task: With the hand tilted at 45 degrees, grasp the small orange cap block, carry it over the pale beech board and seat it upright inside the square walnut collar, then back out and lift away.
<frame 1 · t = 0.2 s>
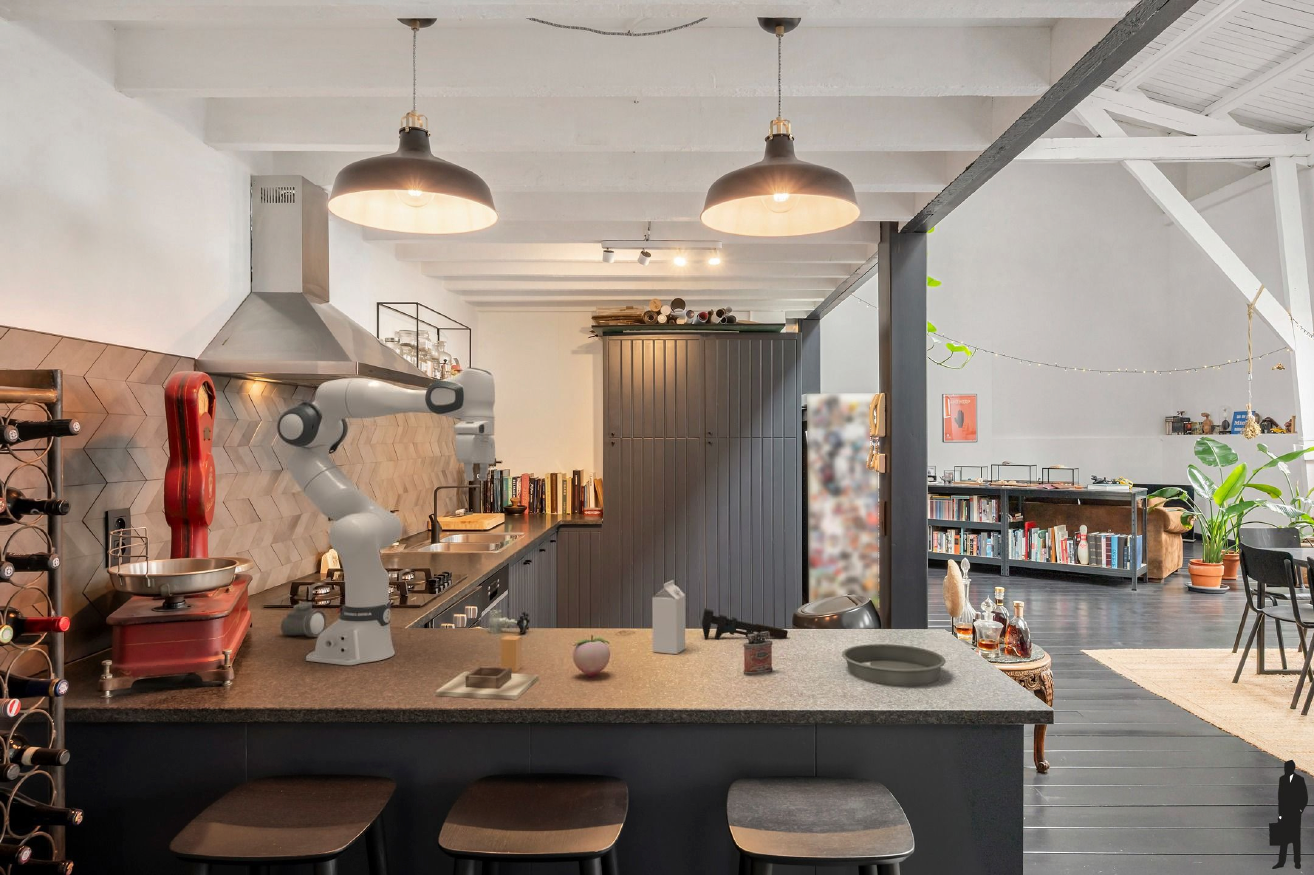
hand: (476, 480, 203), 48 cm above the countertop, fingers open, 8 cm apart
decorative fruit: (592, 677, 187), on the countertop
orange cap block: (511, 669, 194), on the countertop
valve: (507, 633, 234), on the countertop
socket board: (488, 687, 179), on the countertop
pipe fitting: (302, 636, 231), on the countertop
lighter: (758, 673, 190), on the countertop
milk carton: (669, 651, 212), on the countertop
cake pan: (892, 674, 189), on the countertop
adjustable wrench: (744, 640, 225), on the countertop
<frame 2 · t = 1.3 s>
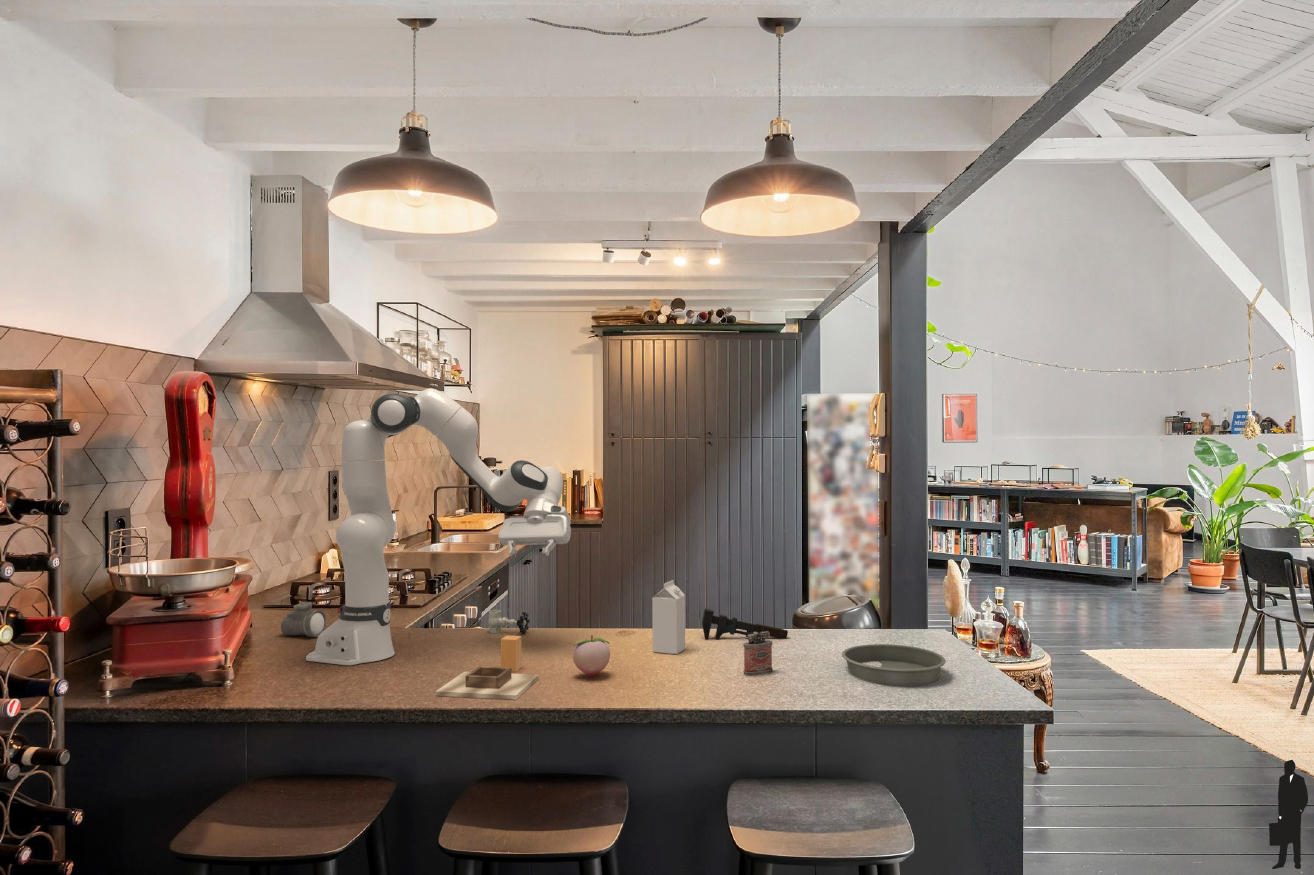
hand: (528, 555, 208), 27 cm above the countertop, fingers open, 8 cm apart
nothing on the countertop moved.
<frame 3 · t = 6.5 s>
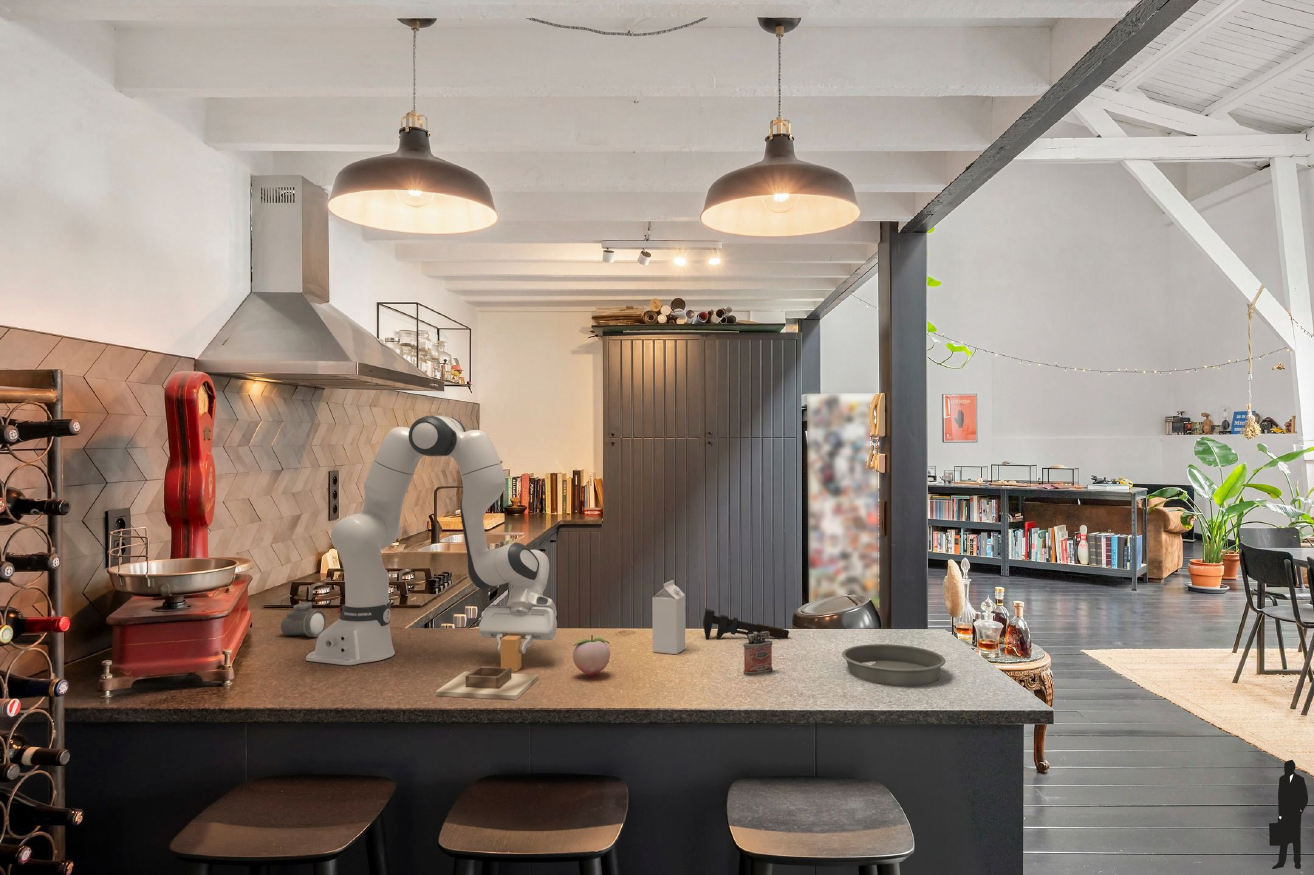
hand: (511, 651, 194), 4 cm above the countertop, fingers closed on orange cap block, 4 cm apart
orange cap block: (511, 669, 194), on the countertop, touching gripper
everything else where it was.
when the fingers open (7 cm above the countertop, at t = 12.1 s): orange cap block drops 1 cm, resting on socket board.
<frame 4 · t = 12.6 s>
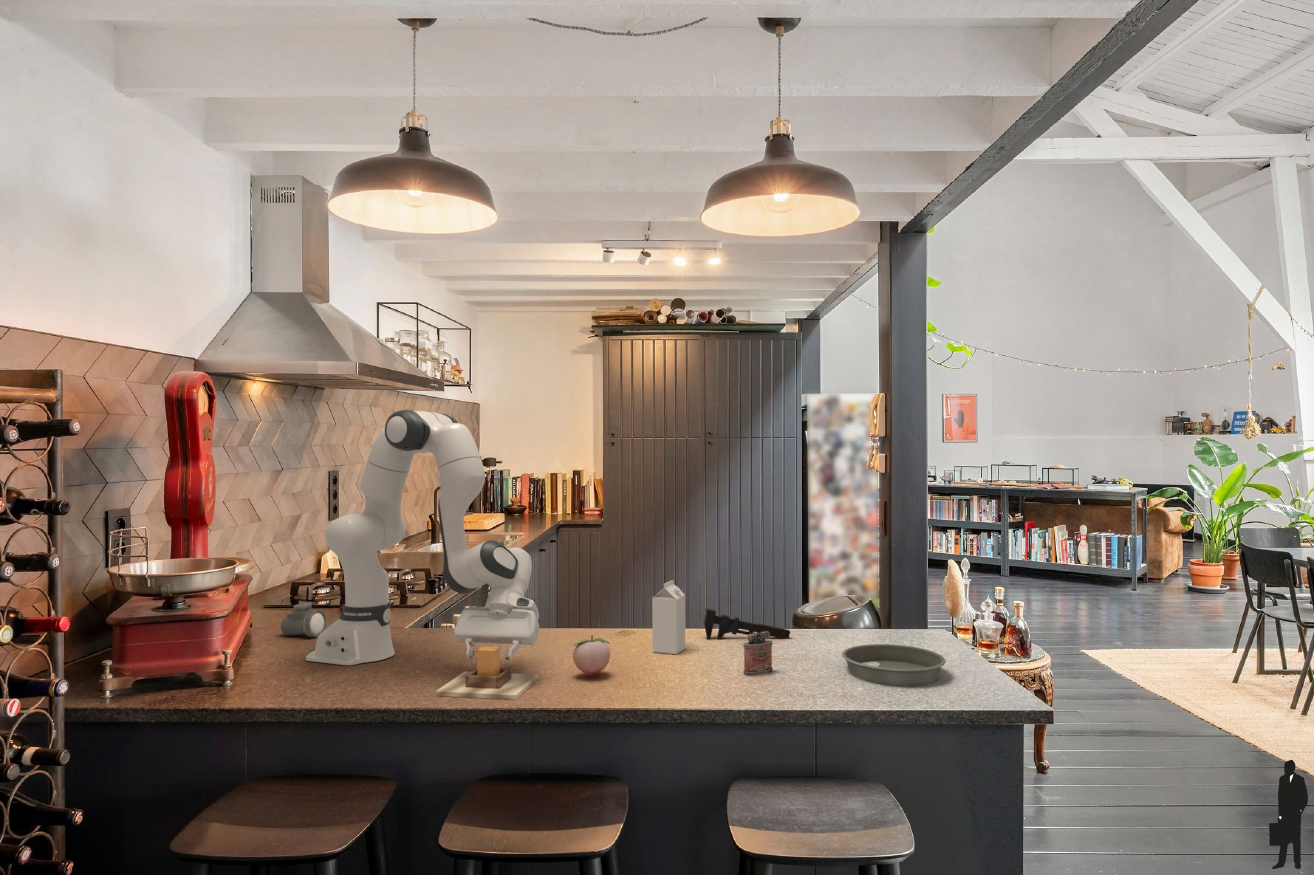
hand: (488, 657, 179), 7 cm above the countertop, fingers open, 8 cm apart
orange cap block: (488, 682, 179), point 1 cm above the countertop, touching socket board
everything else where it was.
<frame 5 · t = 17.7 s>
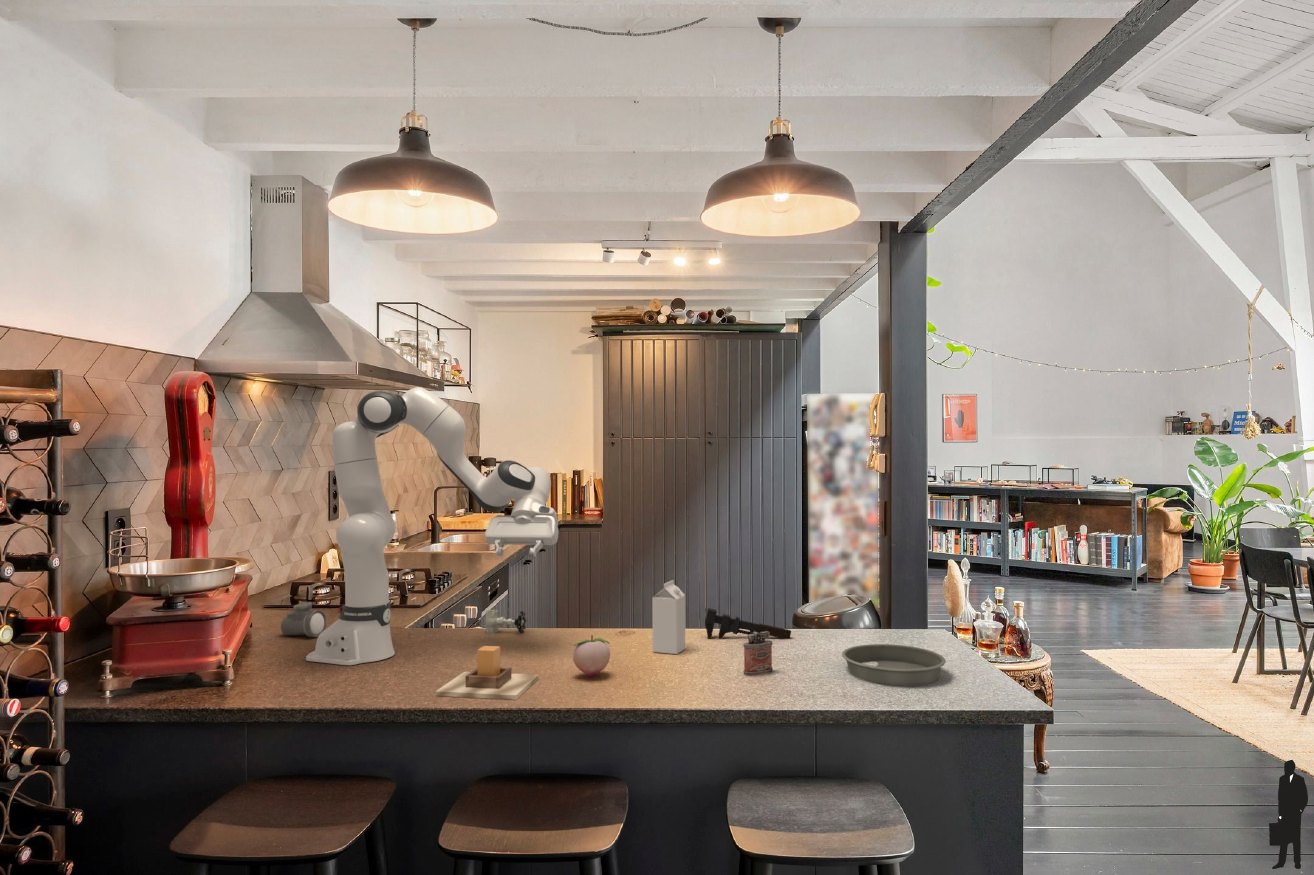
hand: (515, 555, 206), 27 cm above the countertop, fingers open, 8 cm apart
at the end: orange cap block 0.0 cm off-centre on the socket board, point 1.0 cm above the socket board's base; orange cap block tilted 0°; the gripper is holding nothing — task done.
